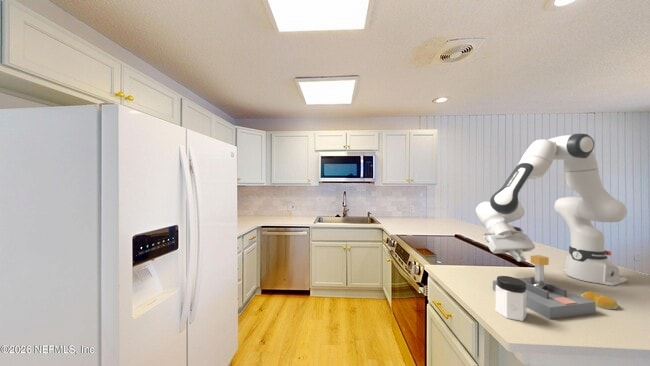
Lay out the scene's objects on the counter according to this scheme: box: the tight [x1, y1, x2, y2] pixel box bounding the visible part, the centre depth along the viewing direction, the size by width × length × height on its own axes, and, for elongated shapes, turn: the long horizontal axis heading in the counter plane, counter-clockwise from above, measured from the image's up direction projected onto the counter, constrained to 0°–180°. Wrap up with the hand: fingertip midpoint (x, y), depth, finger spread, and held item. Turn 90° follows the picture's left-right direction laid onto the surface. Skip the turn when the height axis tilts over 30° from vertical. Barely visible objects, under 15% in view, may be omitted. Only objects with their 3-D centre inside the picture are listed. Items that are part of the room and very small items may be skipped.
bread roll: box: [580, 290, 619, 310], centre depth 90 cm, size 8×9×4 cm
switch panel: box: [492, 276, 597, 320], centre depth 93 cm, size 20×22×6 cm
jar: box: [495, 275, 528, 322], centre depth 83 cm, size 9×8×12 cm
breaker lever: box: [530, 254, 550, 290], centre depth 93 cm, size 5×3×13 cm, turn 100°
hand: (522, 260), depth 99 cm, fingers closed
